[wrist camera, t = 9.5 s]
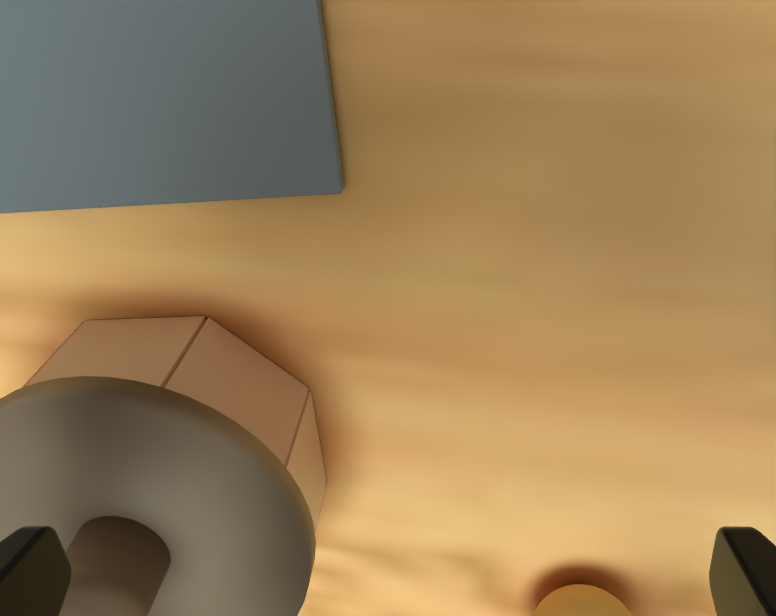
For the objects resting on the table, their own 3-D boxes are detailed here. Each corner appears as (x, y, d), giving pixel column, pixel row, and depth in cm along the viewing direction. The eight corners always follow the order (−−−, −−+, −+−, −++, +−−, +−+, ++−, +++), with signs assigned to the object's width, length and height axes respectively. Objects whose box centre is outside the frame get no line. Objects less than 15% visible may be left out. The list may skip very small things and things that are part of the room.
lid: (283, 370, 18) (227, 515, 14) (337, 644, 23) (309, 811, 19) (-104, 381, 19) (-267, 515, 15) (30, 637, 25) (-62, 792, 20)
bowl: (296, 312, 22) (265, 387, 18) (337, 540, 27) (319, 635, 23) (0, 323, 23) (-82, 396, 20) (90, 540, 28) (37, 629, 24)
